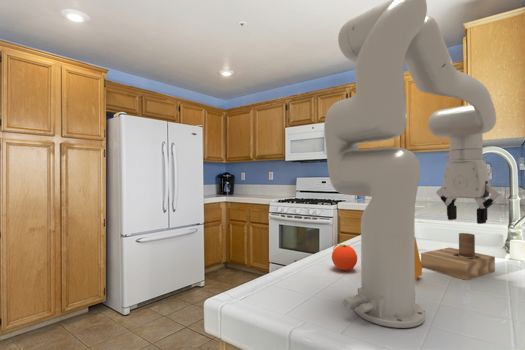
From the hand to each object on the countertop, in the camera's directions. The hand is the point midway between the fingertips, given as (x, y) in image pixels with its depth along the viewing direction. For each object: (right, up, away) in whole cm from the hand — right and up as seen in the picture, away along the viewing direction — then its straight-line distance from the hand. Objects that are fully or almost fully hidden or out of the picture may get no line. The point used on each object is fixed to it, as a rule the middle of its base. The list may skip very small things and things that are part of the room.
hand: (466, 220), depth 82 cm
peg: (0, -14, 0) cm, 14 cm away
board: (-2, -14, +1) cm, 14 cm away
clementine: (-34, -14, +2) cm, 36 cm away
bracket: (-22, -14, -6) cm, 27 cm away
